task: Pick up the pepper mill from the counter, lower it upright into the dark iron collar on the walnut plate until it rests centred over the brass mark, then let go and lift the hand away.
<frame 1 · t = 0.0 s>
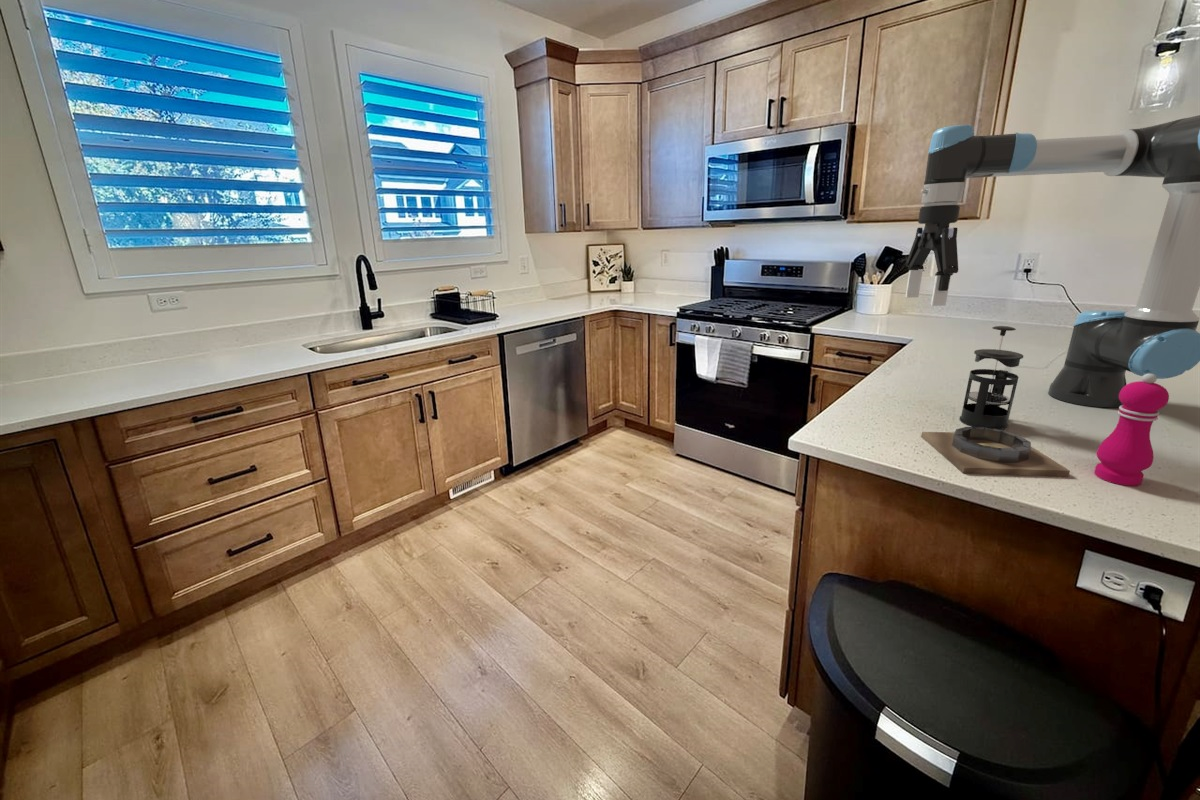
hand: (924, 301, 120), 28 cm above the table, tool pointing down, fingers open, 13 cm apart
iron collar: (990, 443, 104), on the collar plate, point 2 cm above the table
pepper mill: (1116, 479, 94), on the table
collar plate: (987, 454, 105), on the table
french press: (983, 423, 121), on the table
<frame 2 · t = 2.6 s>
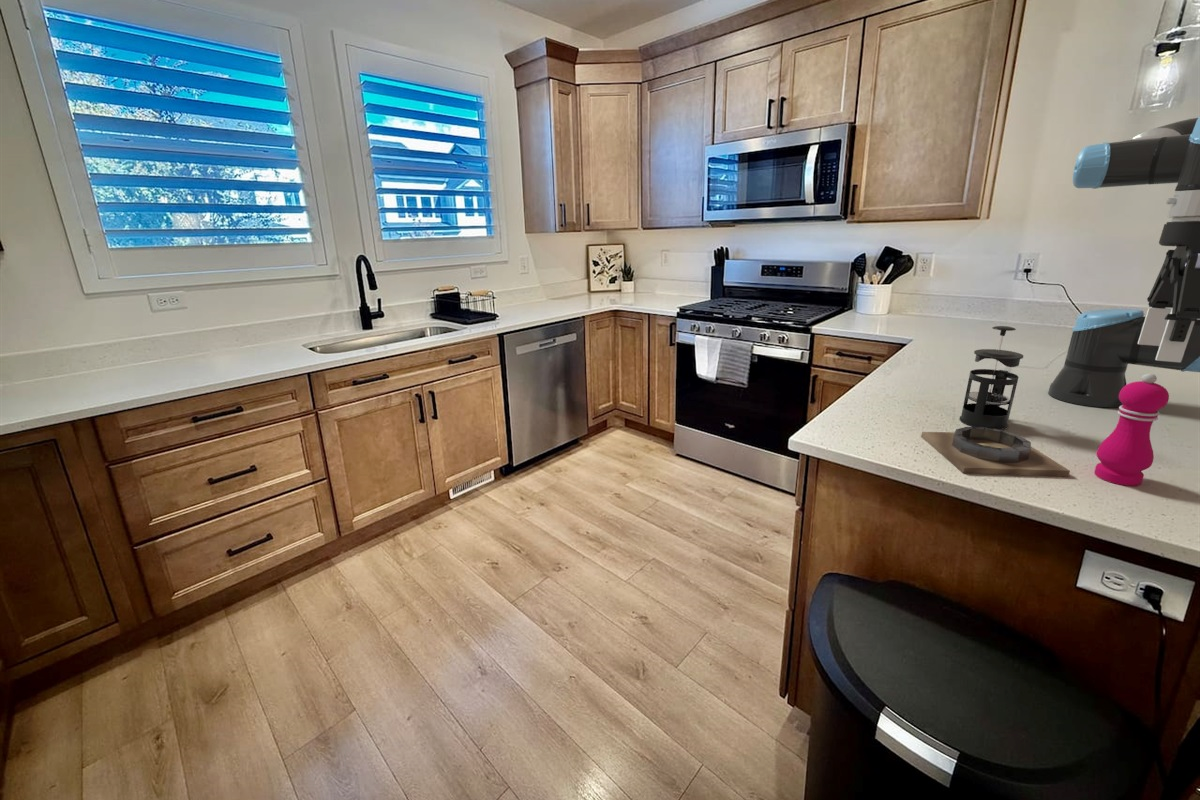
hand: (1157, 352, 86), 24 cm above the table, tool pointing down, fingers open, 13 cm apart
nothing on the table moved.
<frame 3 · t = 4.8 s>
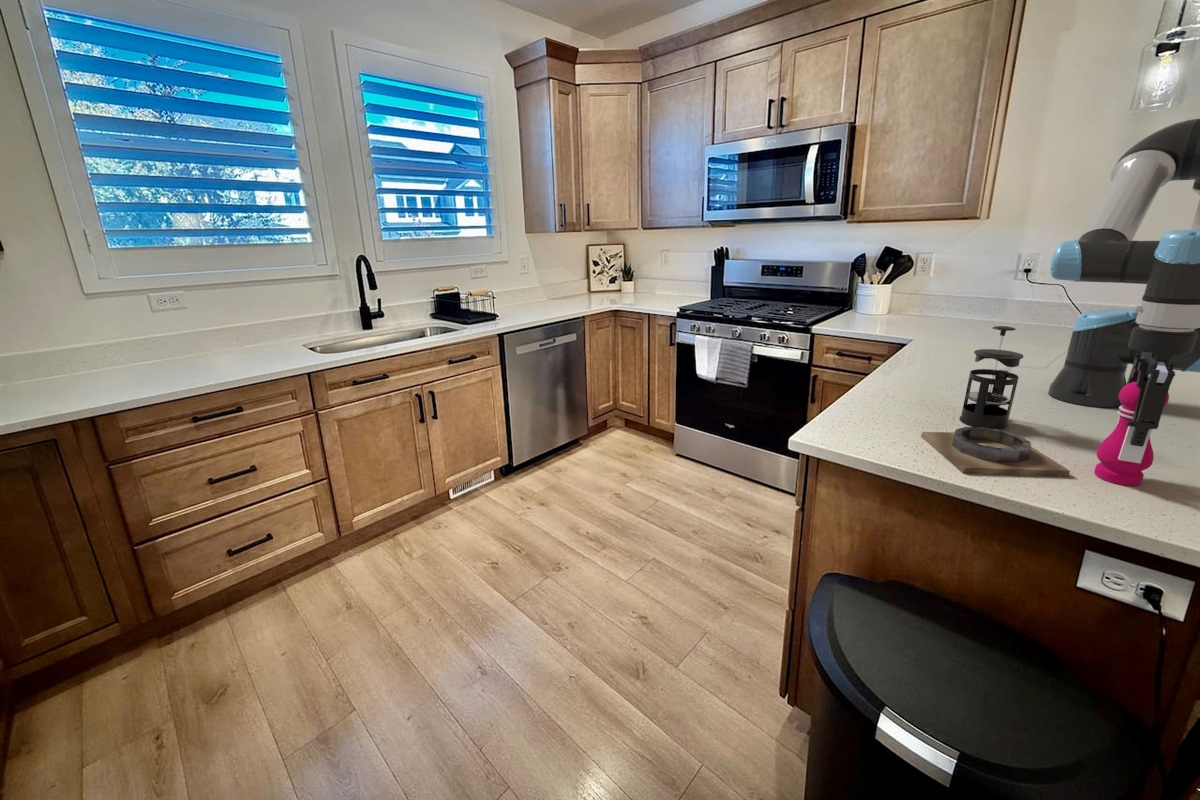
hand: (1125, 452, 92), 5 cm above the table, tool pointing down, fingers closed on pepper mill, 7 cm apart
pepper mill: (1116, 479, 94), on the table, touching gripper
everything else where it was.
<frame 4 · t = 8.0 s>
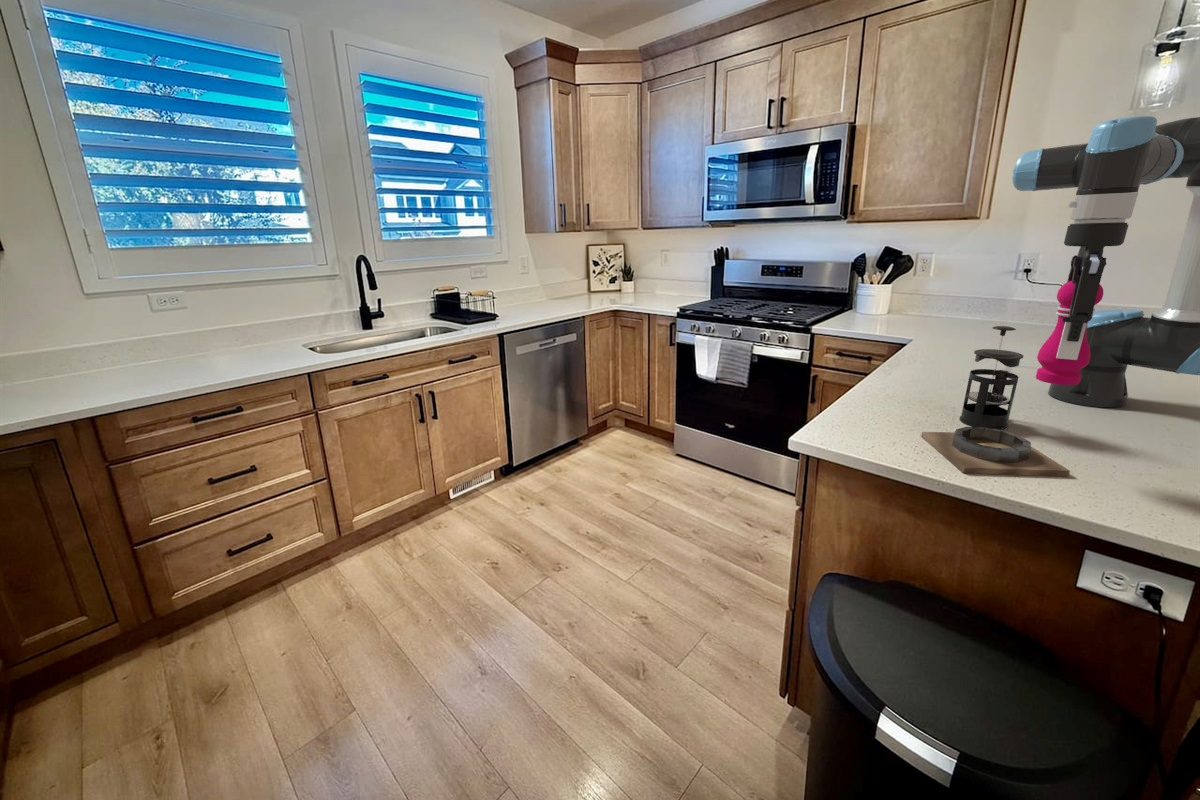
hand: (1063, 353, 93), 22 cm above the table, tool pointing down, fingers closed on pepper mill, 7 cm apart
pepper mill: (1056, 381, 95), point 17 cm above the table, touching gripper
everything else where it was.
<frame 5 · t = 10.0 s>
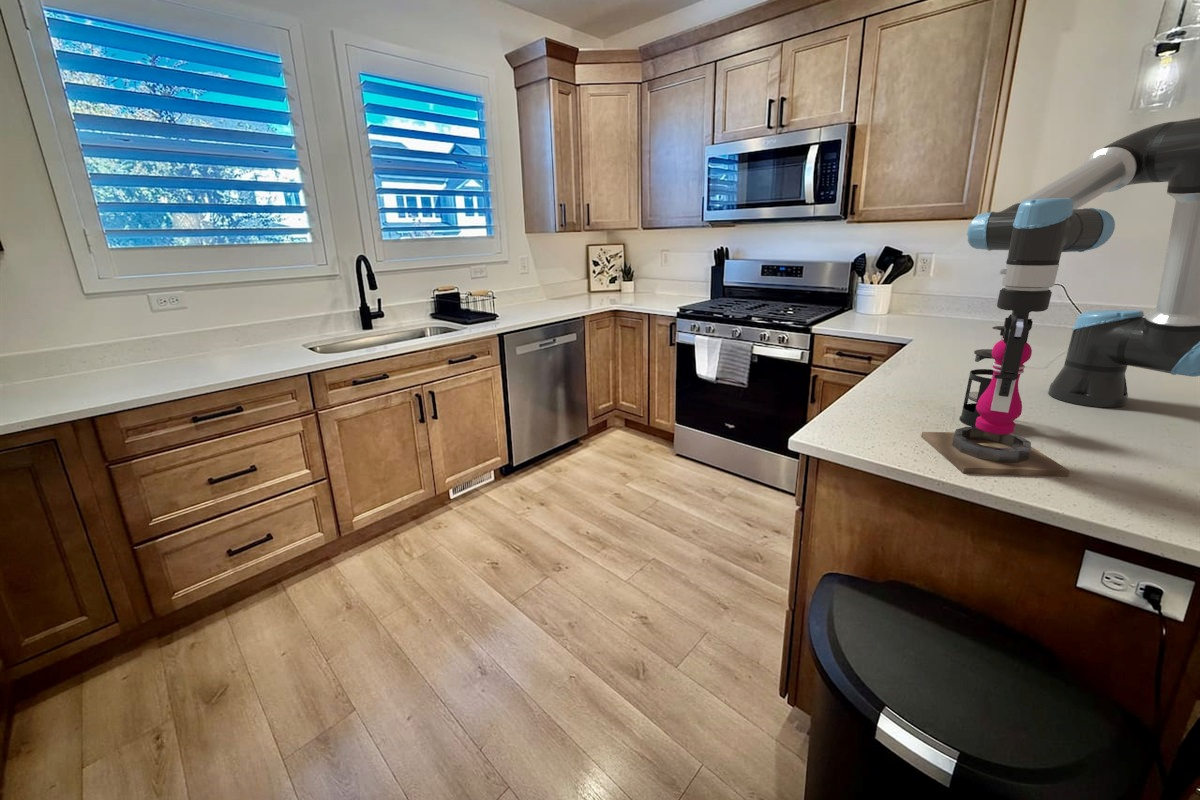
hand: (999, 405, 101), 11 cm above the table, tool pointing down, fingers closed on pepper mill, 7 cm apart
pepper mill: (993, 429, 103), point 6 cm above the table, touching gripper
everything else where it was.
when the fingers open (7 cm above the table, at t = 11.2 s): pepper mill stays where it is, resting on collar plate.
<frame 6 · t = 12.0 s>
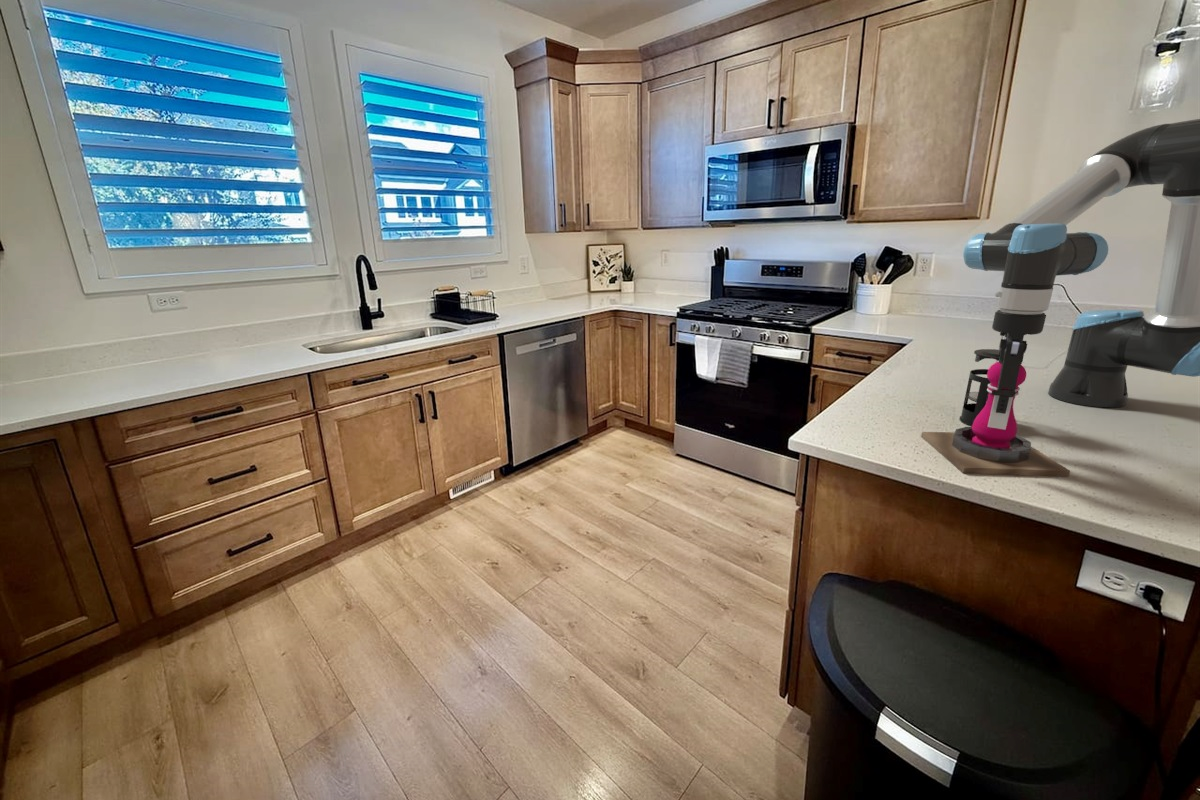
hand: (996, 417, 102), 8 cm above the table, tool pointing down, fingers open, 13 cm apart
pepper mill: (989, 449, 105), point 1 cm above the table, touching collar plate
everything else where it was.
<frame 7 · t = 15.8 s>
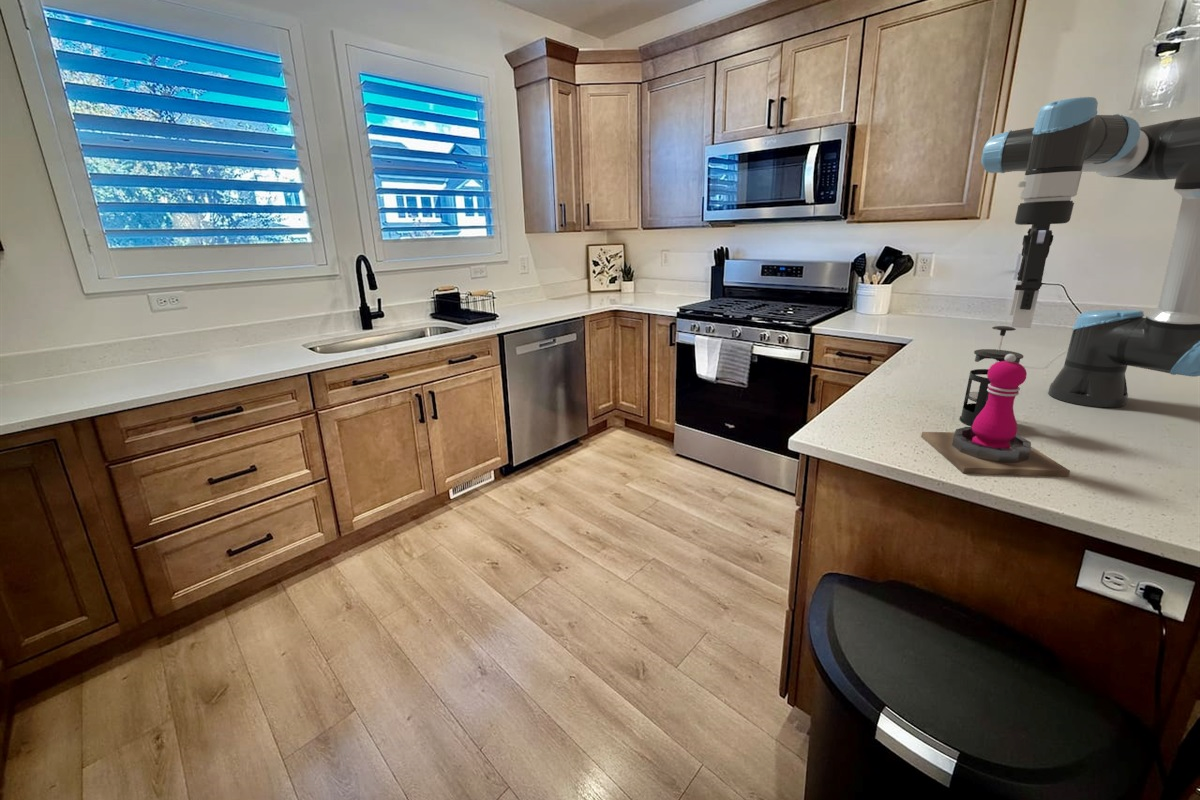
hand: (1019, 321, 96), 28 cm above the table, tool pointing down, fingers open, 13 cm apart
nothing on the table moved.
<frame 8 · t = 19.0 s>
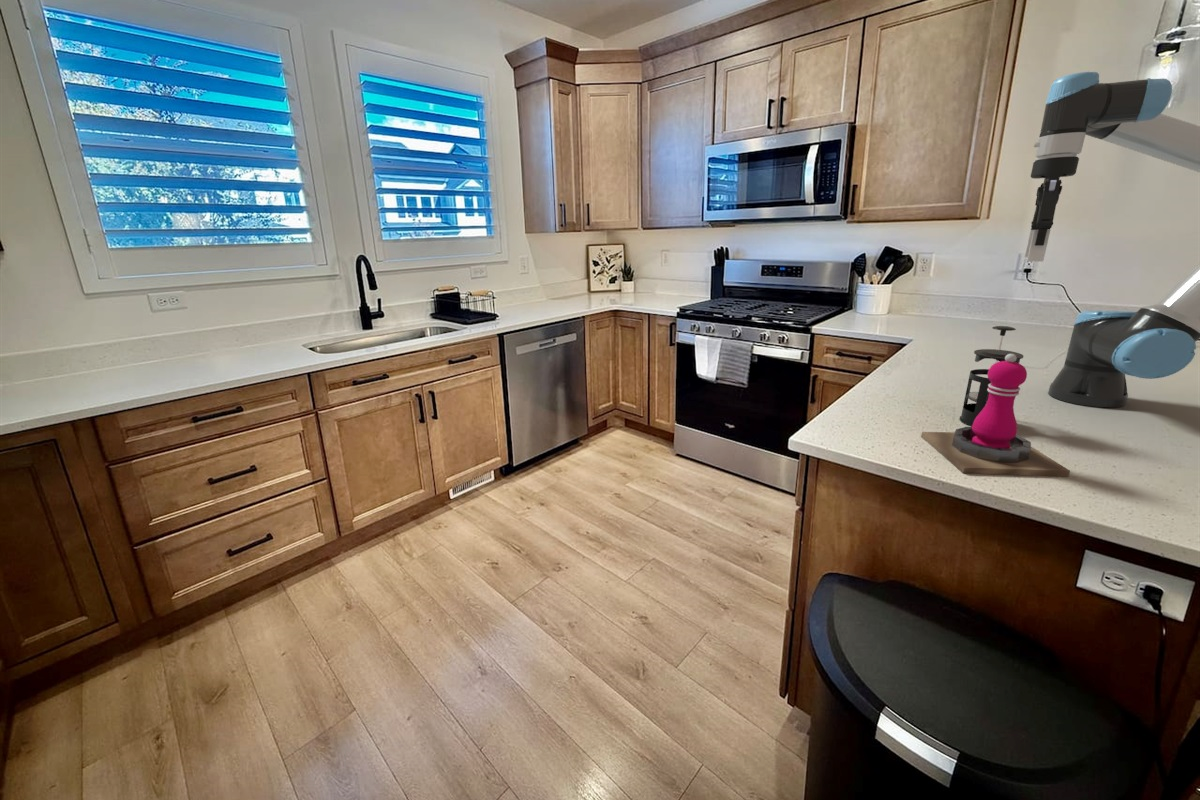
hand: (1033, 259, 117), 37 cm above the table, tool pointing down, fingers open, 13 cm apart
nothing on the table moved.
at the end: pepper mill 0.1 cm off-centre on the iron collar, point 1.1 cm above the iron collar's base; pepper mill tilted 0°; the gripper is holding nothing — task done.
